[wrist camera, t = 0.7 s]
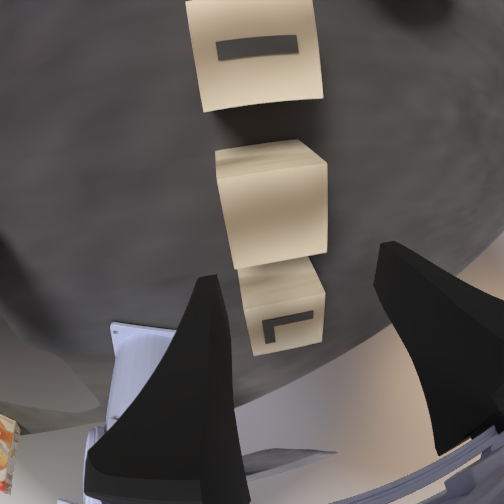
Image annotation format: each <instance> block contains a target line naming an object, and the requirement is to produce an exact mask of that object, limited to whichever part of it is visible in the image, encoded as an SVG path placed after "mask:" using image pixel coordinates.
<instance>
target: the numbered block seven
mask: <svg viewBox="0 0 504 504" xmlns="http://www.w3.org/2000/svg"><path fill="white" fill-rule="evenodd" d="M238 276H239V283H240V289H241V296H242V302H243V309H244V313H245V318H246V323H247V327H248V332H249V336H250V341H251V346H252V350H253V355H254V356H256V355H262V354H267V353H272V352H277V351H282V350H287V349H292V348H297V347H301V346H306V345H310V344H314V343H319V342H322V333H323V321H324V307H325V291H324V289H323V287H322V285H321V282H320V280H319V278H318V276H317V274H316V272H315V270H314V268H313V265H312V263H311V261H310V259H309V257H308V256H305V257H300V258H294V259H289V260H283V261H278V262H273V263H267V264H262V265H256V266H251V267H245V268H239V269H238Z"/></svg>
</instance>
